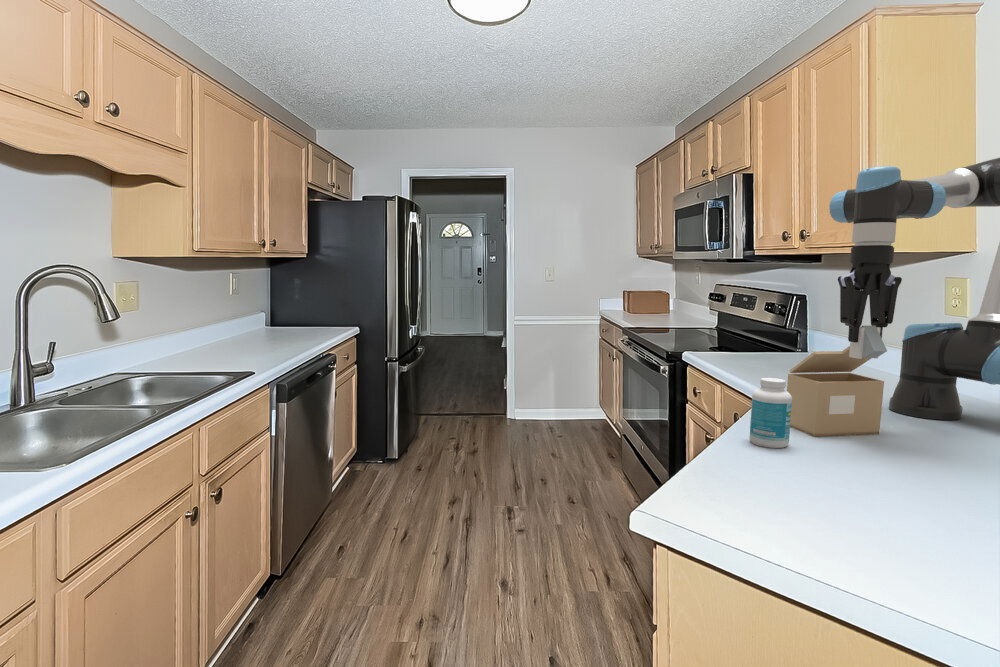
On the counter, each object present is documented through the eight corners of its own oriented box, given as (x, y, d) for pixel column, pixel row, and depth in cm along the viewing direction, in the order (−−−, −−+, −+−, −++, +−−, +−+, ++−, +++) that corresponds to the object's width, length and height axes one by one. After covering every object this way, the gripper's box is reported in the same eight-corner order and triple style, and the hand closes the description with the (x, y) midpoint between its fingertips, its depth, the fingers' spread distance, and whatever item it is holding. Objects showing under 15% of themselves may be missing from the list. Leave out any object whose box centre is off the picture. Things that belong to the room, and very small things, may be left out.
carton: (845, 422, 137) (849, 372, 136) (879, 434, 127) (884, 381, 126) (784, 424, 135) (788, 373, 133) (814, 437, 125) (819, 382, 123)
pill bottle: (793, 450, 115) (798, 384, 114) (753, 447, 117) (758, 382, 115) (782, 439, 123) (787, 377, 121) (745, 437, 124) (749, 375, 122)
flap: (856, 385, 133) (847, 362, 136) (914, 350, 118) (902, 325, 121) (795, 387, 131) (786, 363, 134) (846, 351, 116) (835, 325, 119)
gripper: (891, 246, 124) (882, 354, 127) (824, 244, 121) (816, 355, 124) (922, 244, 117) (911, 359, 119) (852, 243, 114) (843, 360, 116)
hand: (863, 357), depth 122 cm, fingers closed on flap, 3 cm apart
